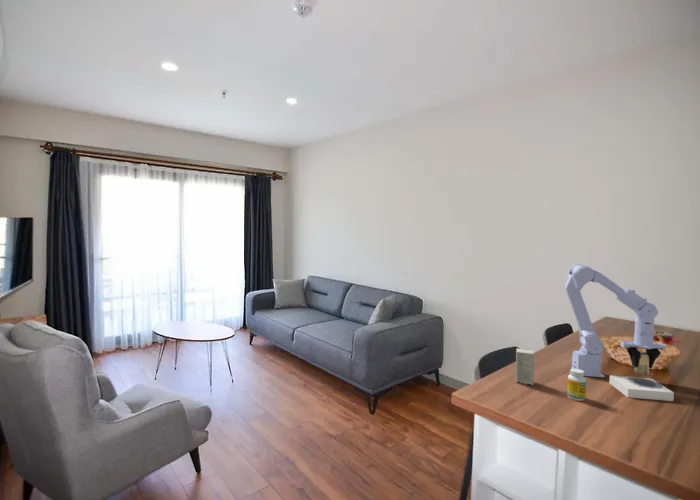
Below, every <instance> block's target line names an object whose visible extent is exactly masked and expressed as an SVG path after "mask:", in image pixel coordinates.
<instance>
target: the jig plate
mask: <svg viewBox="0 0 700 500" xmlns="http://www.w3.org/2000/svg"><path fill="white" fill-rule="evenodd" d="M609 384H610V385H611V386H612V387H614V389H616V390H618V391H619V392H620V393H622V395H624V396H625V397H626V398H630V399H631V398H632V399H642V400H643V399H645V400H655V401H666V402H667V401H668V402H674V398H675V396H674V395H675V392H674V391H672V390H671V389H669V388H667V387H666V386H664V385H663V384H661V383H659V382H658V381H656V380H655V379H653V378H651V377H650V378H649V377H639V376H638V377H636V376H624V375H623V376H622V375H611V374H610V375H609Z"/></svg>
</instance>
